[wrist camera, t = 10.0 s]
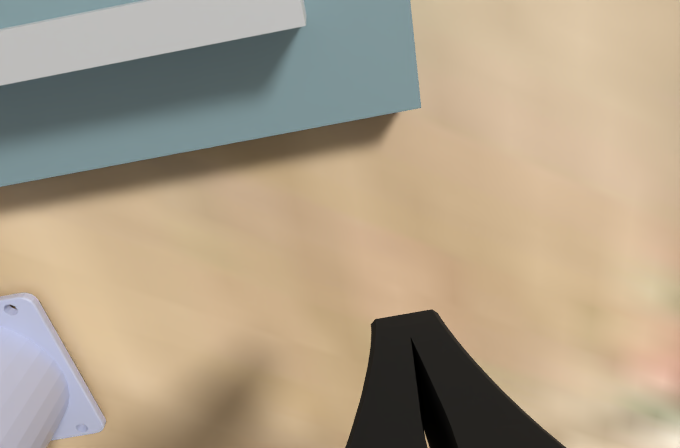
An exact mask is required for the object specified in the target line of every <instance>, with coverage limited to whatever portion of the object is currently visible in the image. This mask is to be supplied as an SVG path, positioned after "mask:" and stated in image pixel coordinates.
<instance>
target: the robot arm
mask: <svg viewBox="0 0 680 448" xmlns="http://www.w3.org/2000/svg"><path fill="white" fill-rule="evenodd" d="M10 305H13V306H15V307H16V308H17V309H14V308H12V307H11V306H10ZM105 424H106V419H105V417H104V415H103V414H102V412H101V410H100V408H99V406H98V405H97V403H96V401H95V399H94V398H93V396H92V394H91V392H90V391H89V389H88V387H87V385H86V383H85V382H84V380H83V378H82V376H81V375H80V373H79V371H78V369H77V368H76V366H75V364H74V362H73V360H72V359H71V357H70V355H69V353H68V352H67V350H66V348H65V346H64V344H63V343H62V341H61V339H60V337H59V336H58V334H57V332H56V330H55V329H54V327H53V325H52V323H51V321H50V320H49V318H48V316H47V314H46V313H45V311H44V309H43V307H42V305H41V304H40V302H39V300H38V299H37V298H36V297H35V296H33V295H32V294H29V293H17V294H11V295H6V296H0V448H47V446H48V444H49V442H50V441H51V440H57V439H63V438H69V437H75V436H81V435H87V434H93V433H98V432H101V431H102V430H103V428H104V426H105ZM424 431H425V434H426V437H427V440H428V443H429V446H430V448H566V447H565V446H563V445H562V444H561V443H560V442H559V441H557V440H556V439H555V438H554V437H553V436H551V435H550V434H549V433H548V432H547V431H545V430H544V429H543V428H542V427H541V426H540V425H539V424H537V423H536V422H535V421H534V420H533V419H532V418H531V417H530V416H529V415H527V414H526V413H525V412H524V411H523V410H522V409H521V408H520V407H519V406H518V405H517V404H516V403H515V402H514V401H513V400H512V399H511V398H510V397H508V396H507V395H506V394H505V393H504V392H503V391H502V390H501V389H500V388H499V387H498V386H497V385H496V384H495V382H494V381H493V380H492V379H491V378H490V377H489V376H488V375H487V374H486V373H485V372H484V371H483V370H482V368H481V367H480V366H479V365H478V364H477V363H476V362H475V361H474V360H473V359H472V357H471V356H470V355H469V354H468V353H467V352H466V350H465V349H464V348H463V347H462V346H461V344H460V343H459V342H458V341H457V339H456V338H455V337H454V336H453V334H452V333H451V332H450V330H449V329H448V328H447V326H446V325H445V324H444V322H443V321H442V319H441V318H440V316H439V314H438V313H437V312H435V311H434V310H426V311H420V312H415V313H409V314H403V315H397V316H391V317H386V318H380V319H375V320H374V322H373V323H372V324H371V348H370V355H369V362H368V368H367V372H366V377H365V381H364V386H363V391H362V395H361V399H360V403H359V406H358V409H357V413H356V416H355V419H354V423H353V426H352V429H351V433H350V436H349V439H348V442H347V445H346V447H345V448H427V444H426V440H425V434H424Z"/></svg>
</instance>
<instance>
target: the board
mask: <svg viewBox="0 0 680 448" xmlns="http://www.w3.org/2000/svg"><path fill="white" fill-rule="evenodd" d="M417 108H421V102H420V92H419V82H418V73H417V63H416V53H415V43H414V34H413V24H412V14H411V4H410V0H0V187H2V186H7V185H12V184H18V183H23V182H28V181H34V180H39V179H44V178H50V177H55V176H60V175H66V174H71V173H76V172H82V171H87V170H92V169H98V168H103V167H108V166H114V165H119V164H124V163H130V162H135V161H140V160H146V159H151V158H156V157H162V156H167V155H172V154H178V153H183V152H188V151H194V150H199V149H204V148H210V147H215V146H220V145H226V144H231V143H236V142H242V141H247V140H252V139H258V138H263V137H268V136H273V135H279V134H284V133H289V132H295V131H300V130H305V129H311V128H316V127H321V126H327V125H332V124H337V123H343V122H348V121H353V120H359V119H364V118H369V117H375V116H380V115H385V114H391V113H396V112H401V111H407V110H412V109H417Z"/></svg>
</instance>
